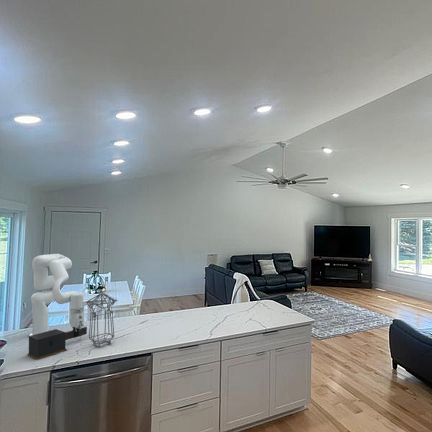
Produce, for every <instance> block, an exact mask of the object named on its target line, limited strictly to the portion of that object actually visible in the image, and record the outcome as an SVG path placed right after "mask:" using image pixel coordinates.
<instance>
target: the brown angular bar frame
mask: <svg viewBox="0 0 432 432" xmlns="http://www.w3.org/2000/svg"><path fill="white" fill-rule="evenodd" d="M64 332H65V341H68V340H72V339H76V338H75V337H74V332H75V330H73V329H72V330H69V331H64ZM85 335H88V327H87V326H82V329H80V336H79V337H82V336H85Z"/></svg>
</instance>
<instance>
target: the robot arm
mask: <svg viewBox="0 0 432 432" xmlns="http://www.w3.org/2000/svg"><path fill="white" fill-rule="evenodd" d="M31 266H32V270H33V289H34V290H35V291H38V292H35V293H33V294H32V295H31V296H30V303H31V308H32V309H31V311H32V322H31V323H32V324H31V325H32V328H31V329H32V332H31V333H29V336H32V335H35V334H39V333H43V332H47V331H51V330H50V329H49V308H48V307H47V305H46V304H50V303H55V302H56V303H57V304H58V305H64V304H68V303H70V307H69V308H70V311H69V312H70V313H69V315H70V316H69V317H70V318H69V326H70V327H71V328H72V330H75V332H74V337H75V338H74V339H76V338H79V337H81V336H80V329H82V328H83V327H85V316H84V293H83V292H81V291H77V290H69V291H65V292H64V291H63V292H62V291H61V284H63V283H65V282H66V281H67V280H69V278H70V276H69V274H68V271H67V270H69V269H71V268H72V267H73V262H72V260H71V259H70V258H69V257H68V256H65V255H63V254H61V253H50V254H49V253H48V254H40V255H37V256H35V257H34V258H33V259H32V261H31ZM47 267H49V270H50V272H51V274H52V275H49V270H48V268H47Z"/></svg>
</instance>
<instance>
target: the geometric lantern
mask: <svg viewBox="0 0 432 432" xmlns="http://www.w3.org/2000/svg"><path fill="white" fill-rule="evenodd" d="M107 299H108V300H109V302H107ZM118 301H119V300H118V299H116V298H115V297H112V296H111V295H109V294H107V293H105V292H101V293H99V294H96V295H95V296H94V297H92V298H90V299H89V300H87V301H85V303H86V304H87V306H88V307H89V310H90V315H89V316H90V317H89V330H88V339H89V340H90V341H91V342H92V343H93V345H94V346H95V347H96V348H101V347H105V346H108V345H111V341H112V340H113V339H114V338H115V327H114V311H113V307H112V306H114V305H115V303H116V302H118ZM104 305H106V306H104ZM93 307H94V308H93ZM97 307H98V308H100V310H98V311H95V309H96V308H97ZM106 308H107V309H106ZM103 311H104V313H101V314H99V313H100V312H103ZM107 311H108V312H107ZM96 313H97V314H96ZM99 316H104V333H101V334H99ZM94 317H96V318H94ZM109 317H110V318H109ZM93 322H94V323H93ZM106 325H107V326H106ZM106 327H107V328H106ZM96 328H97V329H96ZM106 329H108V332H106V331H107V330H106ZM110 329H111V330H110ZM95 331H96V333H97V334H96V333H95ZM110 332H111V333H110ZM103 335H104V336H103ZM106 335H107V336H106ZM99 336H103V338H99ZM108 336H111V337H109V338H108ZM95 338H97V339H96V340H95ZM104 343H107V344H104ZM96 344H97V345H96ZM101 344H103V345H101Z"/></svg>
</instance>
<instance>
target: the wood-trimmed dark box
mask: <svg viewBox="0 0 432 432" xmlns="http://www.w3.org/2000/svg"><path fill="white" fill-rule="evenodd" d="M65 332H66V331H63V330H61V329H57V328H55V329H51V330H50V331H47V332H43V333H39V334H35V335H32V336H30V335H29V336H28V353H27V356H28V357H31V358H33V359H34V360H41V359H44V358H48V357H50V356H53V355H57V354H59V353H63V352H66V351H67V348H66V340H65Z"/></svg>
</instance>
